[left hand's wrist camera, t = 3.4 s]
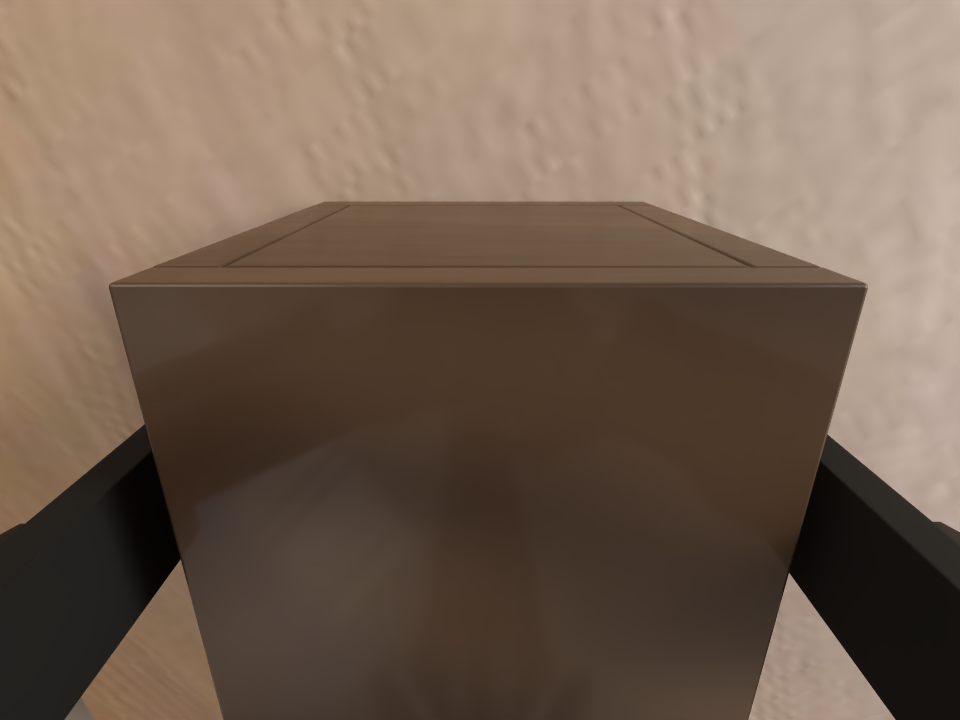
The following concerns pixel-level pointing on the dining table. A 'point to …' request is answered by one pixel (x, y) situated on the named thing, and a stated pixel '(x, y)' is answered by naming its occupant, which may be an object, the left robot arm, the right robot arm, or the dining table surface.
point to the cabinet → (487, 455)
